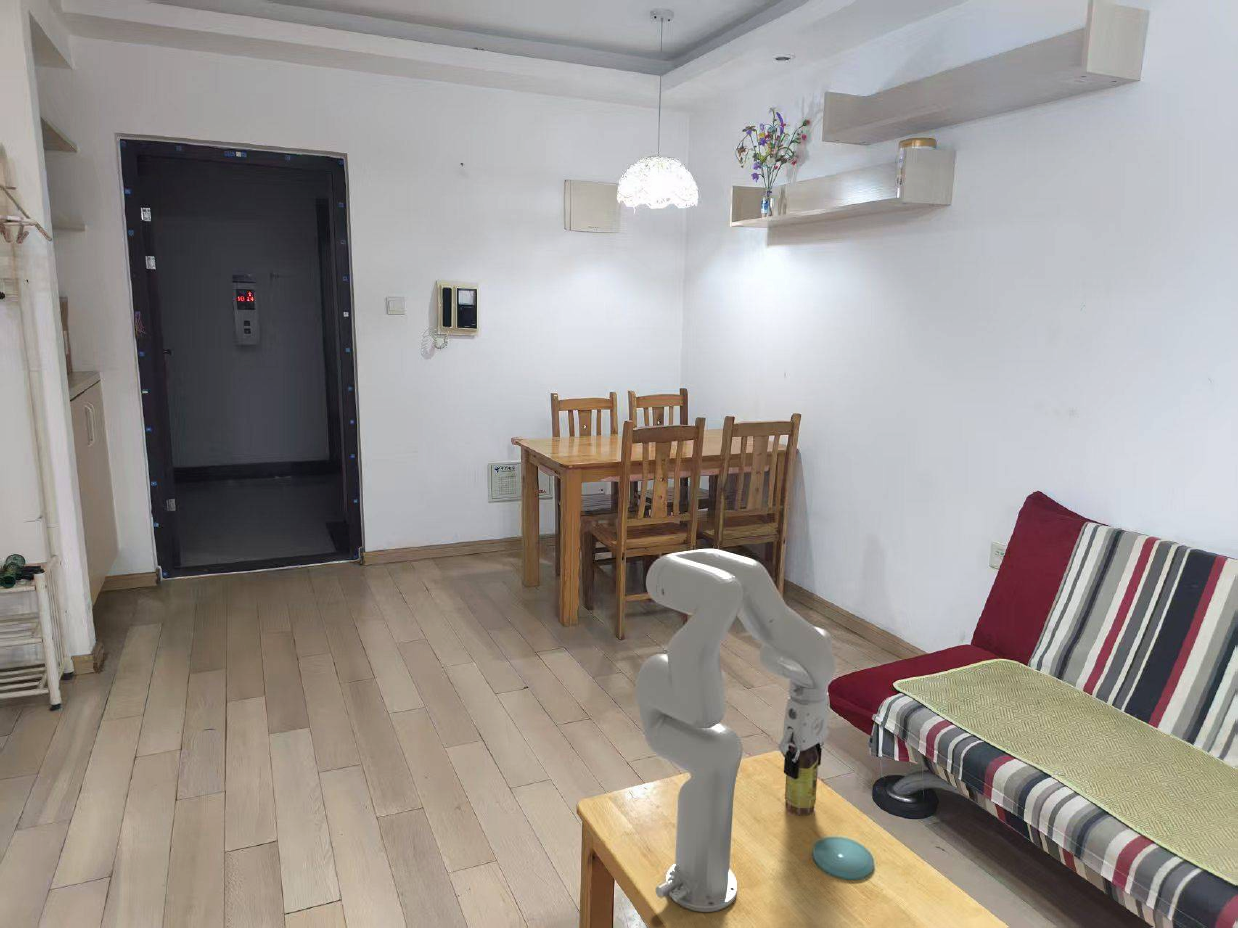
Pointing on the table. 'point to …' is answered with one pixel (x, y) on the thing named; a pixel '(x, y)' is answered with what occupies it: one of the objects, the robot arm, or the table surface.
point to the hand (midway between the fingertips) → (802, 768)
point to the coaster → (843, 858)
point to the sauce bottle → (803, 783)
